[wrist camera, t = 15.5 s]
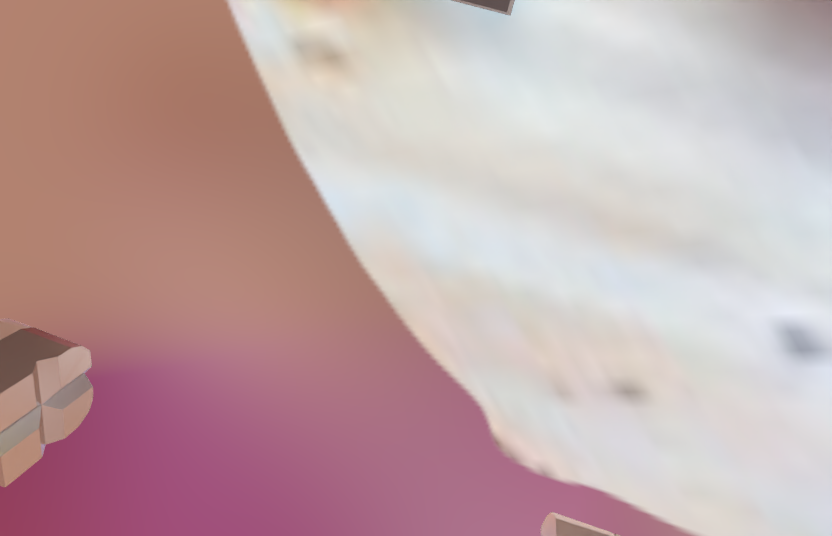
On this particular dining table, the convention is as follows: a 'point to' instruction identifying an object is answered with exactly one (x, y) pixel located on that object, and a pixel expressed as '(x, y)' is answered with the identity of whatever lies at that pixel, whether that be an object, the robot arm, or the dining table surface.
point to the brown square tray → (491, 5)
